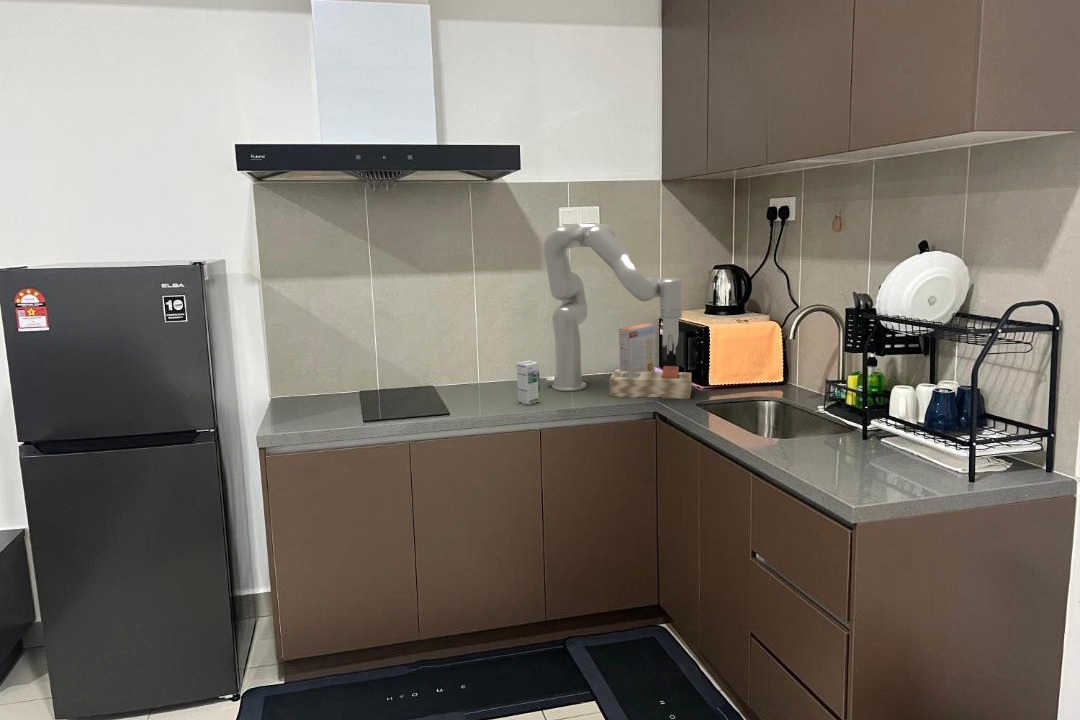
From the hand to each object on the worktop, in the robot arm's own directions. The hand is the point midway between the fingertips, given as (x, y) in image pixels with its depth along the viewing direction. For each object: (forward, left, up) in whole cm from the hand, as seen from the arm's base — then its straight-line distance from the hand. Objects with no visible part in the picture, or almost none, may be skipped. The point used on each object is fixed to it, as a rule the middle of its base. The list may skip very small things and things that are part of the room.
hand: (671, 364), depth 278 cm
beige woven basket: (-7, 0, -11) cm, 13 cm away
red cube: (0, 0, -6) cm, 6 cm away
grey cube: (-14, 0, -9) cm, 17 cm away
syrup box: (-48, -16, -11) cm, 52 cm away
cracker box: (-14, +20, -11) cm, 27 cm away
